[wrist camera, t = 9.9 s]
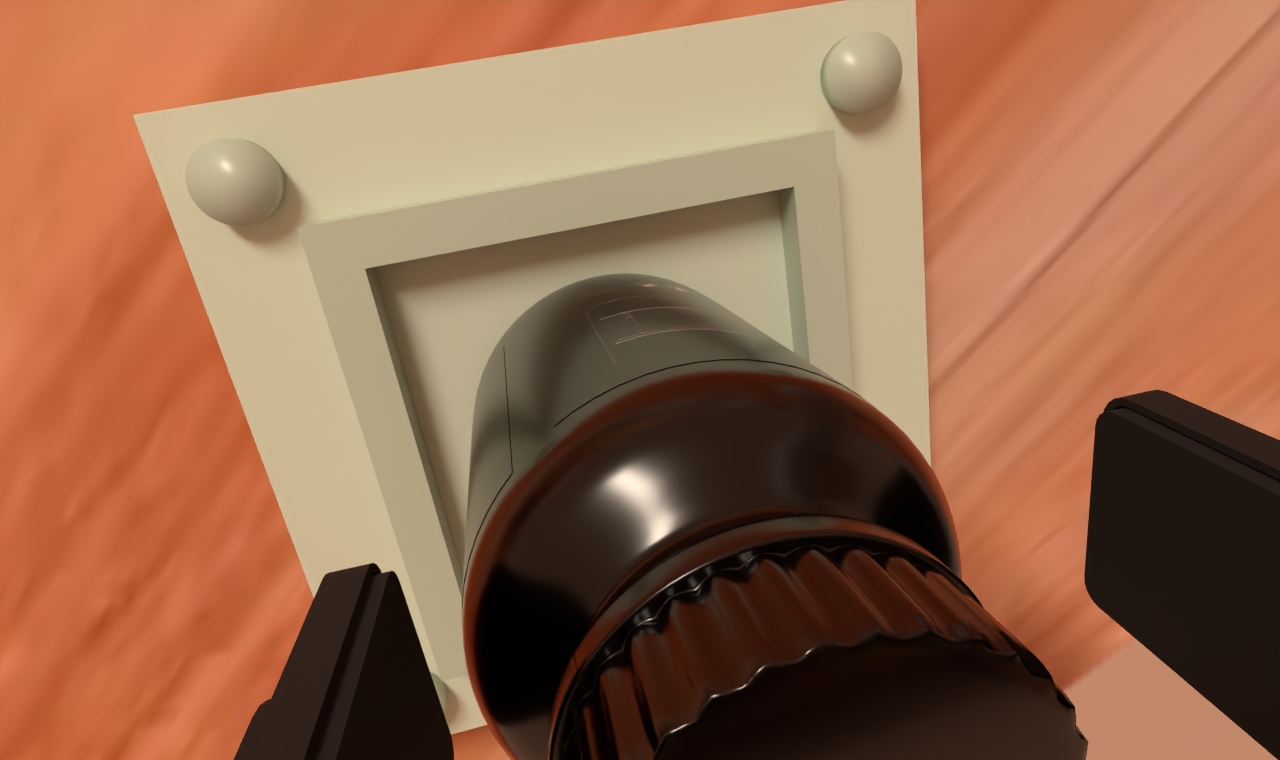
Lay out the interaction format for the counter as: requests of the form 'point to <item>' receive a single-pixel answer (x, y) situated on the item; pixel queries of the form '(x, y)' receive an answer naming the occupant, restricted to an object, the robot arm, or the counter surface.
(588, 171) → the seating plate
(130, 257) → the counter surface
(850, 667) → the supplement bottle
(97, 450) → the counter surface
